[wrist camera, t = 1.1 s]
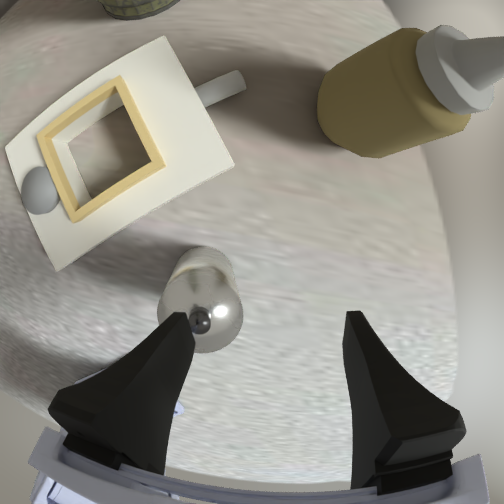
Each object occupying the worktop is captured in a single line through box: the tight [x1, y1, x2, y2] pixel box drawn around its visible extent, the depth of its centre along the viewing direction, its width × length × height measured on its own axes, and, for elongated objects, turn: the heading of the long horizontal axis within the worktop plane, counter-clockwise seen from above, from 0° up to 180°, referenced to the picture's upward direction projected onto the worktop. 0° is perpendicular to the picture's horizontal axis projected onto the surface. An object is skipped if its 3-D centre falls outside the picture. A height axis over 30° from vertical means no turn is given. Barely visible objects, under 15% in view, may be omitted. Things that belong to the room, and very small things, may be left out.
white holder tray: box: [5, 35, 246, 272], centre depth 18 cm, size 20×12×4 cm, turn 117°
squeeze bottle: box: [317, 25, 504, 158], centre depth 13 cm, size 8×8×18 cm
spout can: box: [157, 246, 243, 353], centre depth 19 cm, size 5×5×9 cm
